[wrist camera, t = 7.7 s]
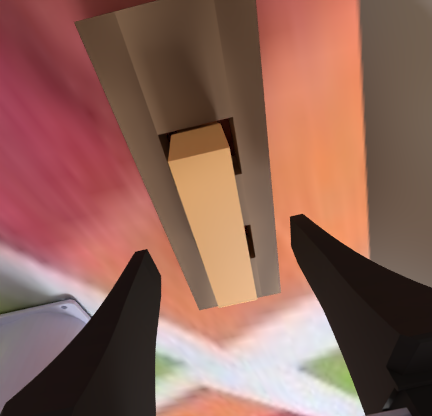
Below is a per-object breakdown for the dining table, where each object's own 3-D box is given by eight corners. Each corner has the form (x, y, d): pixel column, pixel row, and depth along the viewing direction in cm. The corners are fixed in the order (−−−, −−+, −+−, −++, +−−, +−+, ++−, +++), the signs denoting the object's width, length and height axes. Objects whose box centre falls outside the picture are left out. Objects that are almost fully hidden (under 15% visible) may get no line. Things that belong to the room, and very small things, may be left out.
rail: (198, 285, 23) (199, 310, 21) (93, 23, 12) (74, 22, 10) (272, 269, 23) (280, 292, 21) (241, -16, 11) (253, -26, 9)
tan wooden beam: (210, 241, 20) (218, 308, 15) (173, 117, 14) (167, 161, 10) (239, 234, 20) (257, 299, 15) (214, 107, 14) (229, 147, 9)
